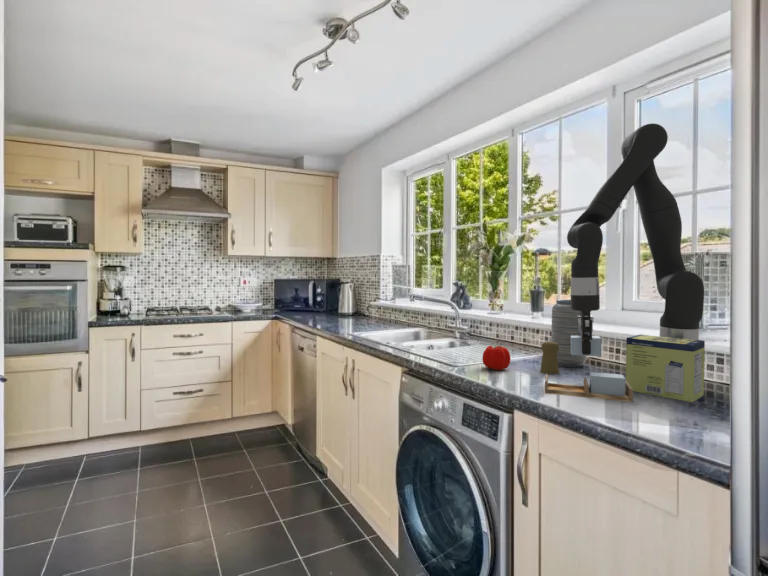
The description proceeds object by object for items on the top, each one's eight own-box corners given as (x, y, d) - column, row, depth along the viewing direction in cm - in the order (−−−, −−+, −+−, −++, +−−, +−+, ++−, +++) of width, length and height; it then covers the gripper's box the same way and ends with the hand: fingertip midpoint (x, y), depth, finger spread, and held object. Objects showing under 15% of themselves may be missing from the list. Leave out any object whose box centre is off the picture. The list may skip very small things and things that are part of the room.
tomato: (500, 365, 152) (501, 344, 152) (514, 371, 143) (515, 348, 143) (476, 366, 149) (477, 345, 149) (489, 372, 141) (489, 349, 141)
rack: (626, 398, 112) (626, 380, 112) (632, 408, 104) (632, 389, 104) (545, 390, 120) (545, 373, 120) (544, 399, 111) (544, 381, 111)
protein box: (637, 388, 123) (639, 333, 122) (704, 400, 111) (706, 340, 110) (623, 395, 116) (625, 337, 115) (693, 408, 104) (695, 344, 103)
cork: (561, 379, 132) (562, 343, 132) (540, 378, 133) (541, 342, 133) (557, 374, 138) (558, 340, 138) (538, 373, 139) (538, 339, 139)
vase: (577, 369, 146) (578, 301, 145) (544, 364, 154) (546, 300, 154) (592, 365, 153) (593, 300, 153) (560, 359, 162) (561, 298, 161)
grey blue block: (599, 353, 125) (599, 336, 125) (601, 356, 121) (601, 338, 121) (570, 352, 127) (570, 335, 127) (571, 355, 123) (571, 337, 123)
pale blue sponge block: (622, 394, 111) (622, 374, 111) (624, 398, 107) (625, 378, 106) (589, 390, 113) (590, 372, 113) (590, 395, 109) (591, 375, 109)
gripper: (602, 294, 116) (603, 358, 116) (596, 292, 129) (597, 349, 129) (571, 294, 118) (572, 356, 119) (569, 292, 132) (570, 348, 132)
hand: (585, 352), depth 124 cm, fingers closed on grey blue block, 4 cm apart
